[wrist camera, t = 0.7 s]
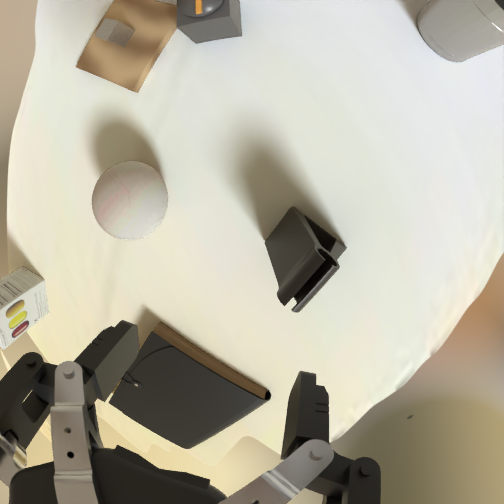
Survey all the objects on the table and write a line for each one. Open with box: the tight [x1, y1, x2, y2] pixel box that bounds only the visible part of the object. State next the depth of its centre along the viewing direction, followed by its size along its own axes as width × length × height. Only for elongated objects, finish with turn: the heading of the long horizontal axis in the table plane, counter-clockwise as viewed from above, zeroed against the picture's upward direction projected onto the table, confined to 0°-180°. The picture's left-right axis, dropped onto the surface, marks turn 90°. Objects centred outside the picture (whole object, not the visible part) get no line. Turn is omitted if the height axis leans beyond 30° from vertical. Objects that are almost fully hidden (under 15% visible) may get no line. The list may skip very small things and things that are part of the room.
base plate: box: [76, 0, 177, 92], centre depth 29 cm, size 14×14×2 cm
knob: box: [177, 0, 242, 44], centre depth 24 cm, size 6×6×8 cm
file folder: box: [109, 322, 271, 449], centre depth 51 cm, size 33×4×24 cm
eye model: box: [92, 161, 168, 240], centre depth 33 cm, size 10×10×10 cm
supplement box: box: [0, 266, 49, 350], centre depth 42 cm, size 10×9×17 cm
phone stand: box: [265, 206, 347, 312], centre depth 31 cm, size 9×6×12 cm, turn 56°
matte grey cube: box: [94, 18, 135, 47], centre depth 26 cm, size 3×3×4 cm
